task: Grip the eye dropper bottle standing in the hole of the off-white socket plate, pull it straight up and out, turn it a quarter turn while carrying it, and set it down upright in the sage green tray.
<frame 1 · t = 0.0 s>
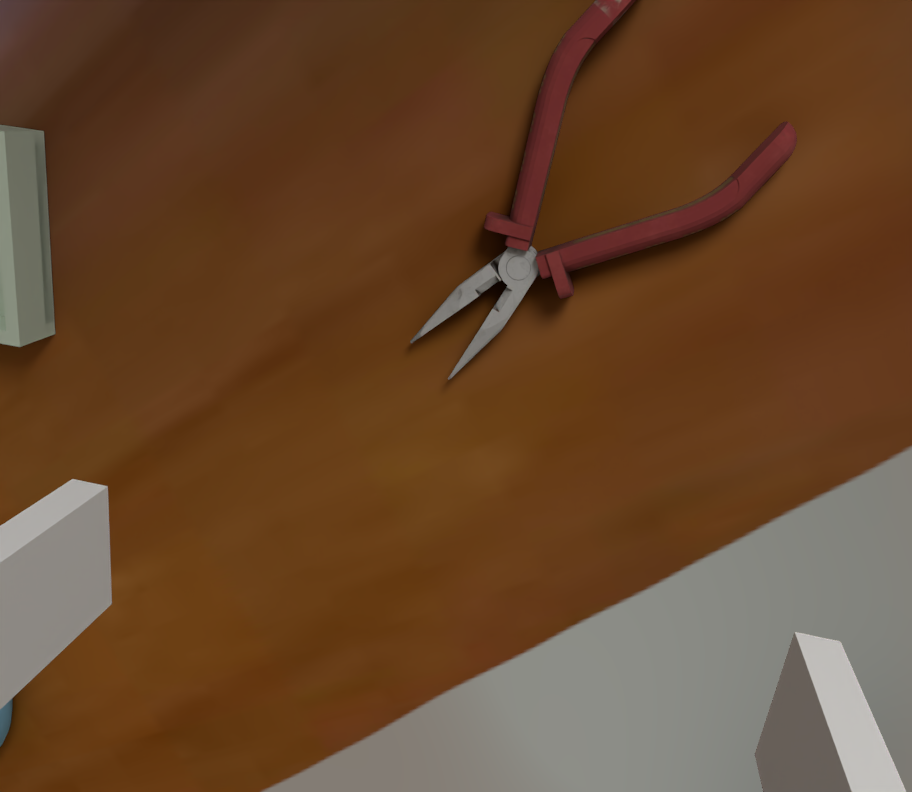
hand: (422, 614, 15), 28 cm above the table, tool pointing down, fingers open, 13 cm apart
pliers: (558, 180, 39), on the table
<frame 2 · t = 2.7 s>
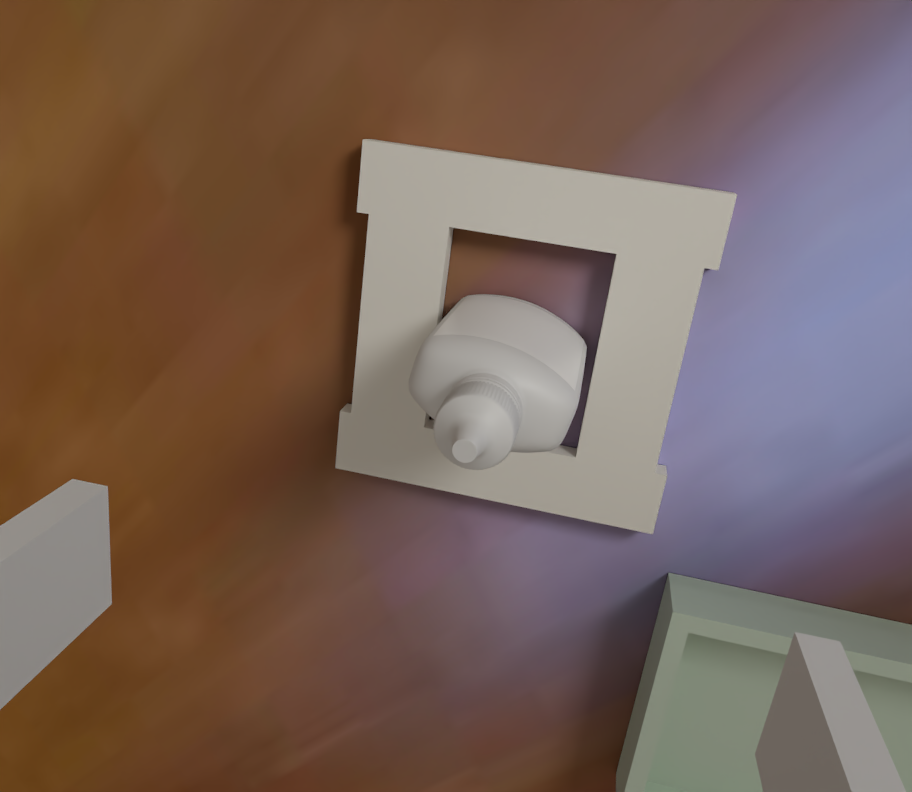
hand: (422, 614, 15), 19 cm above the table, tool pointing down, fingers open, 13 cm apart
tray: (814, 719, 35), on the table
socket plate: (517, 339, 32), on the table
eye dropper bottle: (518, 338, 33), resting in socket plate
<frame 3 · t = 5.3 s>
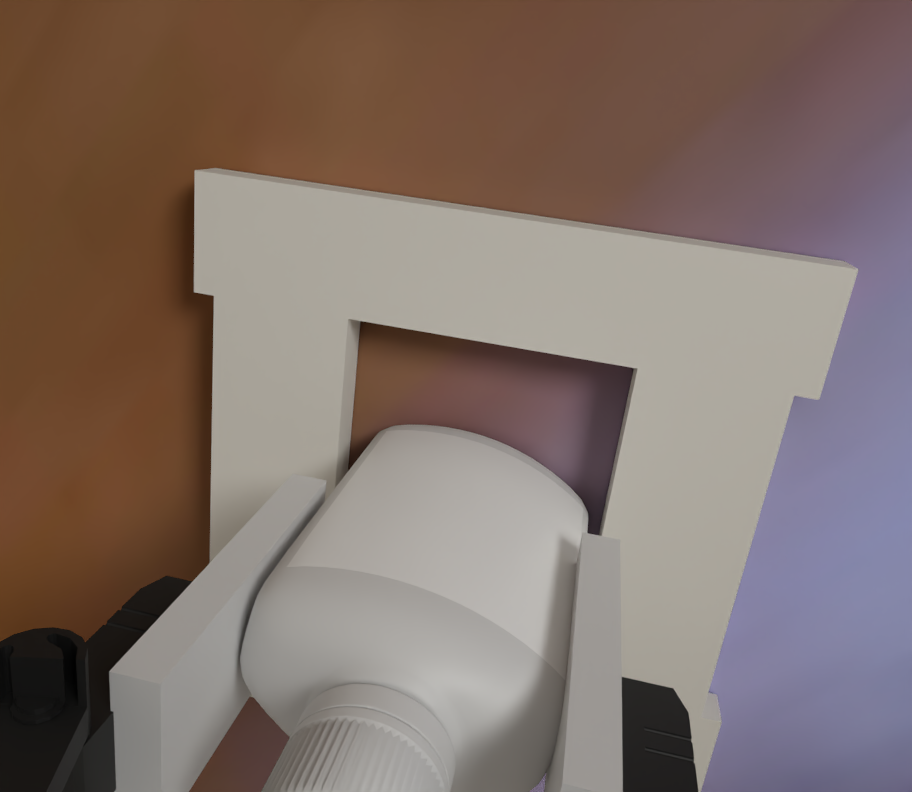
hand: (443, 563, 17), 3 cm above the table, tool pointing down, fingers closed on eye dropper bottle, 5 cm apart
socket plate: (471, 494, 20), on the table
eye dropper bottle: (475, 491, 20), resting in socket plate, touching gripper
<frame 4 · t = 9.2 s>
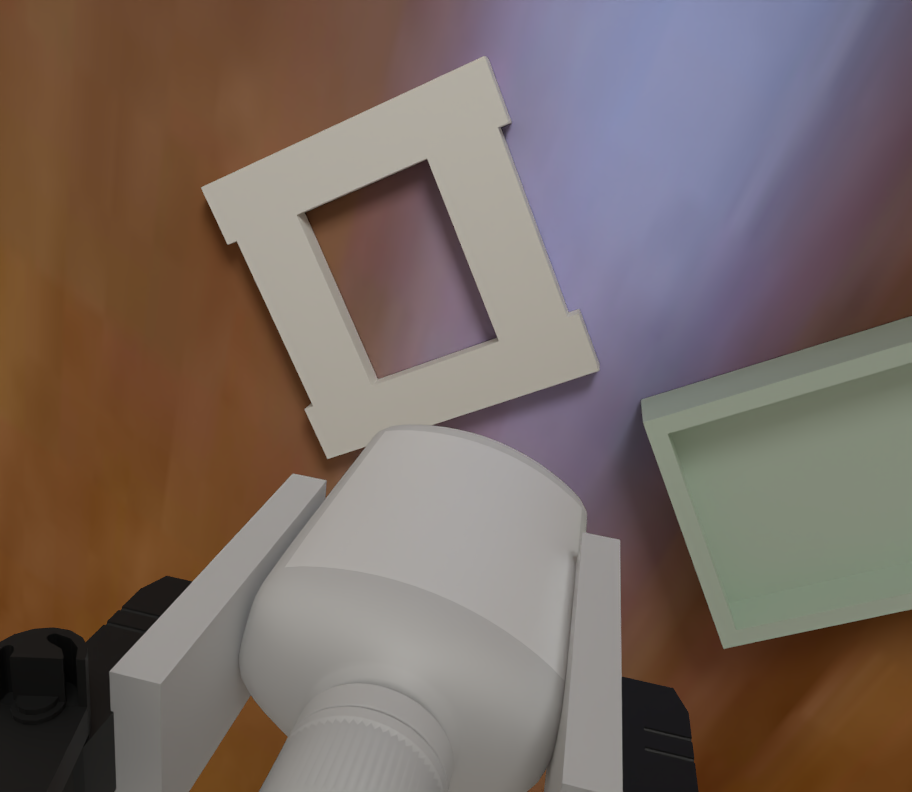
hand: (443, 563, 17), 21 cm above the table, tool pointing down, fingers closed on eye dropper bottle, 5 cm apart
tray: (852, 463, 35), on the table
socket plate: (403, 274, 36), on the table
eye dropper bottle: (474, 491, 20), point 17 cm above the table, touching gripper
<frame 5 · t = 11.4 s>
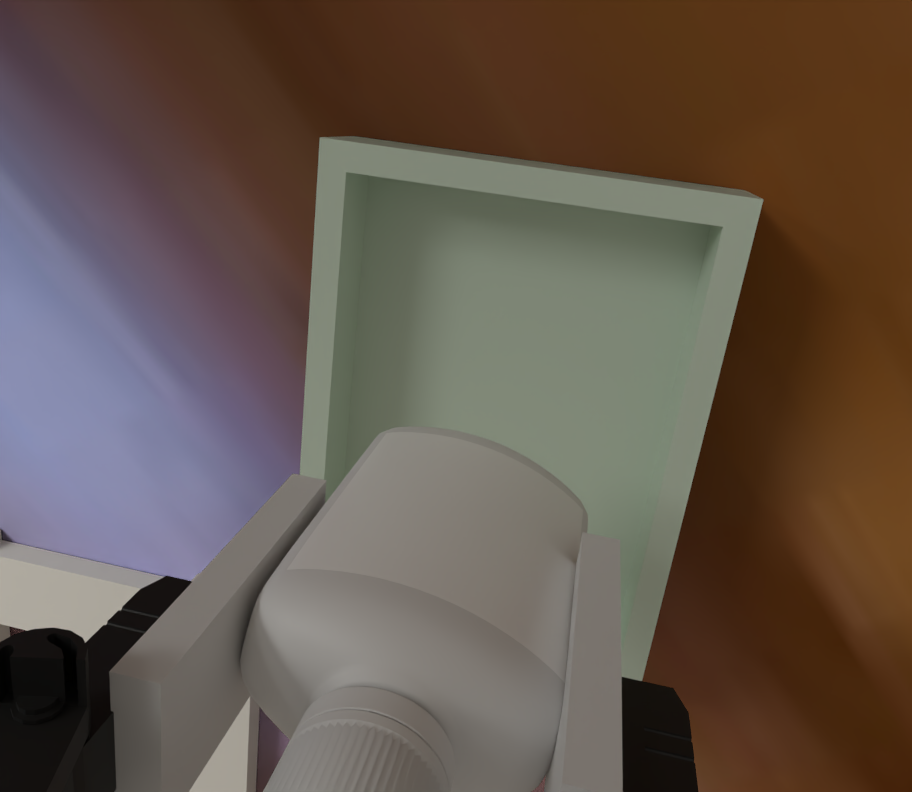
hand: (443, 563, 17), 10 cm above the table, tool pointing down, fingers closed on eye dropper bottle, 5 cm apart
tray: (504, 407, 26), on the table
socket plate: (103, 693, 33), on the table
eye dropper bottle: (475, 493, 20), point 6 cm above the table, touching gripper
when the fingers open (6 cm above the table, at t = 13.0 s): eye dropper bottle drops 1 cm, resting on tray.
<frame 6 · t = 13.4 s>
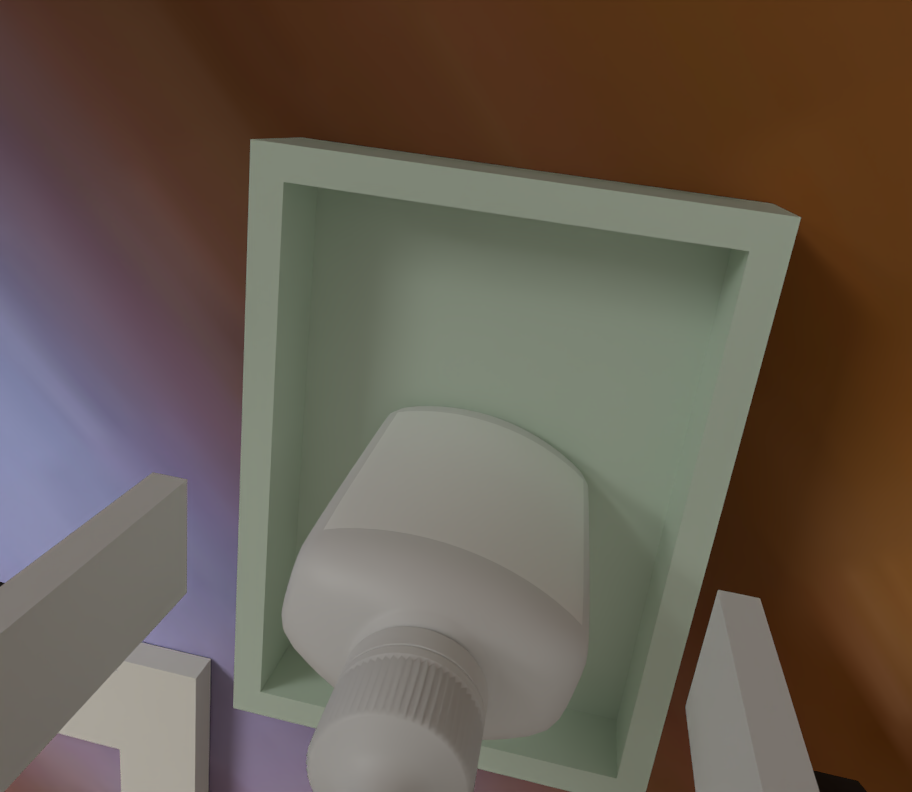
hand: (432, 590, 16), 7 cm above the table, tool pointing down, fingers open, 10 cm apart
tray: (484, 458, 22), on the table
socket plate: (33, 769, 29), on the table
eye dropper bottle: (480, 468, 21), point 1 cm above the table, touching tray
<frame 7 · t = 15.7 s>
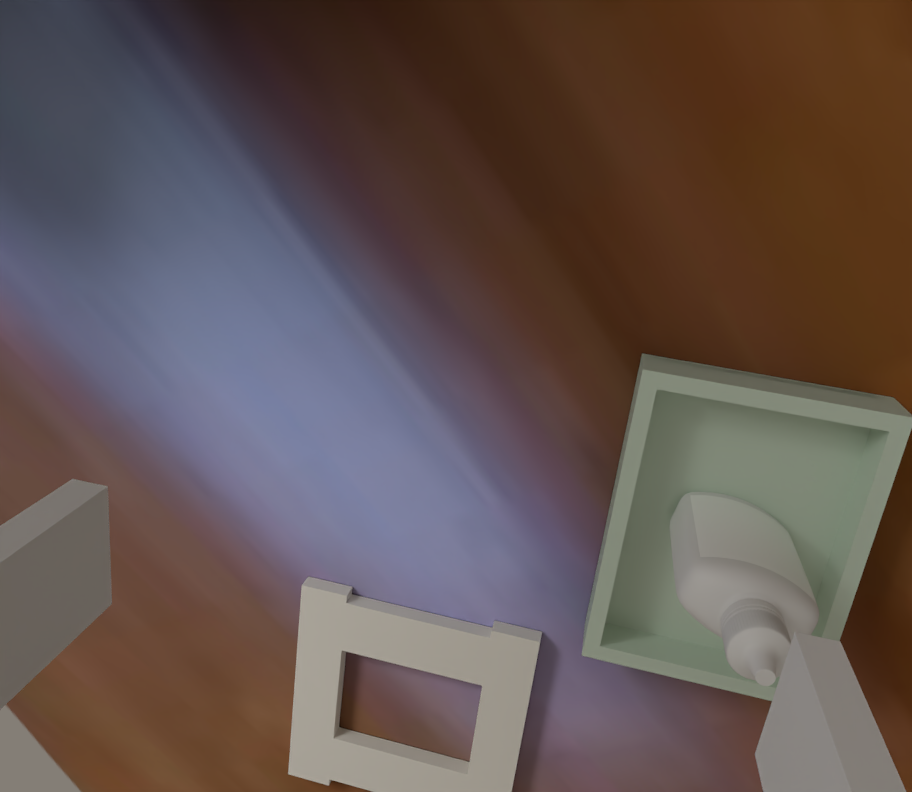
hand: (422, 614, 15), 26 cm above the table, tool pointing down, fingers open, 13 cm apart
tray: (725, 519, 40), on the table
socket plate: (409, 701, 48), on the table
eye dropper bottle: (727, 524, 39), point 1 cm above the table, touching tray
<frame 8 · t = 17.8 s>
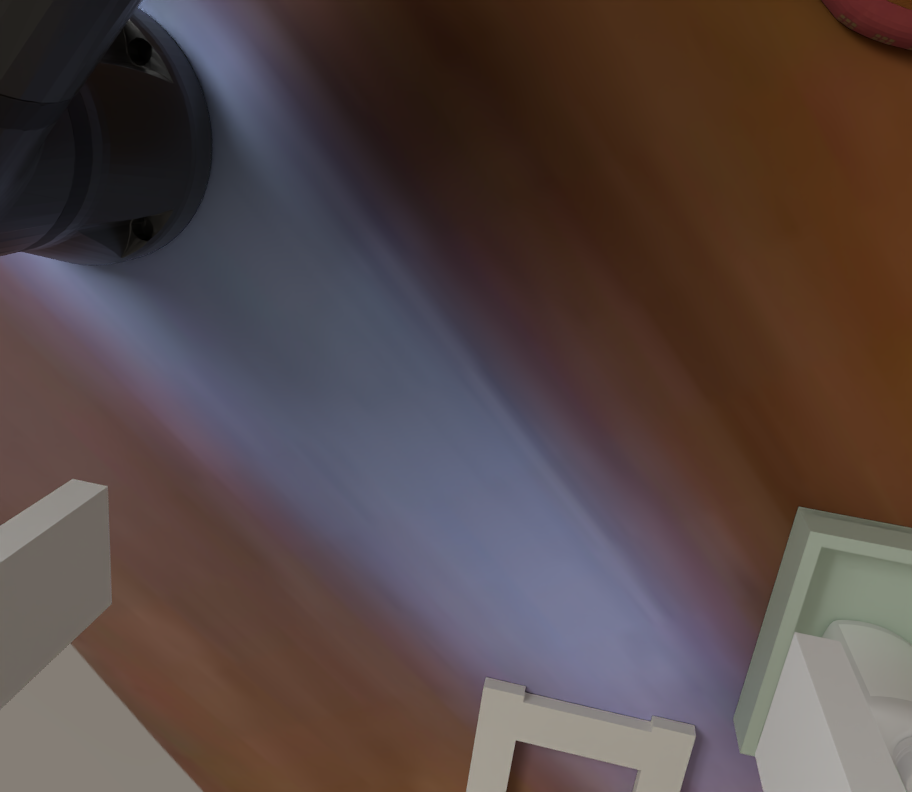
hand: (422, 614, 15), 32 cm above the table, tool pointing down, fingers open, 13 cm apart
tray: (862, 639, 47), on the table
socket plate: (570, 780, 55), on the table
eye dropper bottle: (865, 645, 47), point 1 cm above the table, touching tray
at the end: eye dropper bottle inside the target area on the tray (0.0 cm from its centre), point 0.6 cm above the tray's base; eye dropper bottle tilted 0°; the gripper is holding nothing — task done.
